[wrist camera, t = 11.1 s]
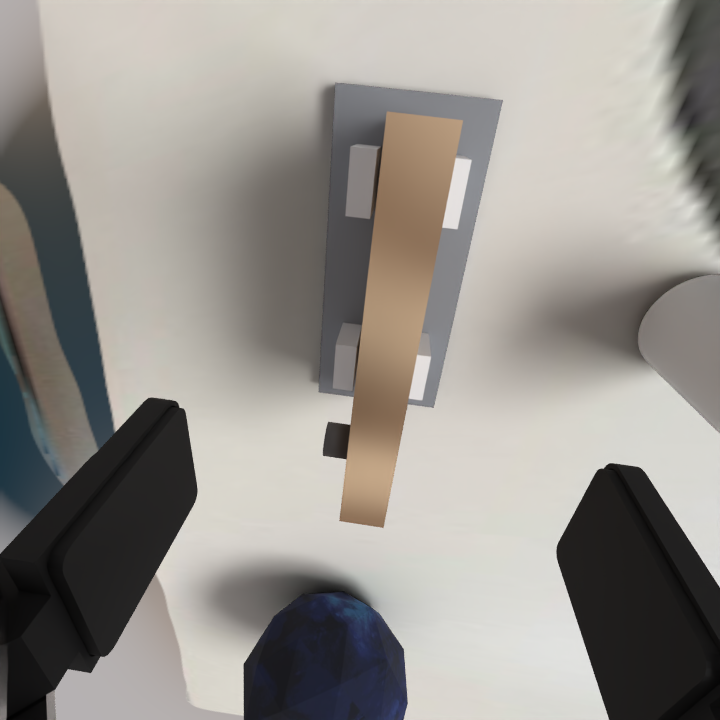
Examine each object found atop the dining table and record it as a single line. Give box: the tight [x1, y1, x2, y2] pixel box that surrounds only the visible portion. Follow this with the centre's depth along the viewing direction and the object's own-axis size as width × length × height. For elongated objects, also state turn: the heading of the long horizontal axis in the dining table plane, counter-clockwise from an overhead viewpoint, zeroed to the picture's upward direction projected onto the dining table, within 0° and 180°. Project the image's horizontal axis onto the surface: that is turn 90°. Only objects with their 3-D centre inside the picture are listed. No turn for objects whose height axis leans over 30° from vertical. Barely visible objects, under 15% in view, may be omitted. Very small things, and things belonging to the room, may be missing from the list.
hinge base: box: [319, 83, 503, 408], centre depth 23 cm, size 18×8×4 cm, turn 175°
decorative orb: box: [244, 591, 408, 720], centre depth 37 cm, size 14×15×15 cm
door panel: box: [323, 111, 463, 528], centre depth 20 cm, size 16×3×11 cm, turn 174°
